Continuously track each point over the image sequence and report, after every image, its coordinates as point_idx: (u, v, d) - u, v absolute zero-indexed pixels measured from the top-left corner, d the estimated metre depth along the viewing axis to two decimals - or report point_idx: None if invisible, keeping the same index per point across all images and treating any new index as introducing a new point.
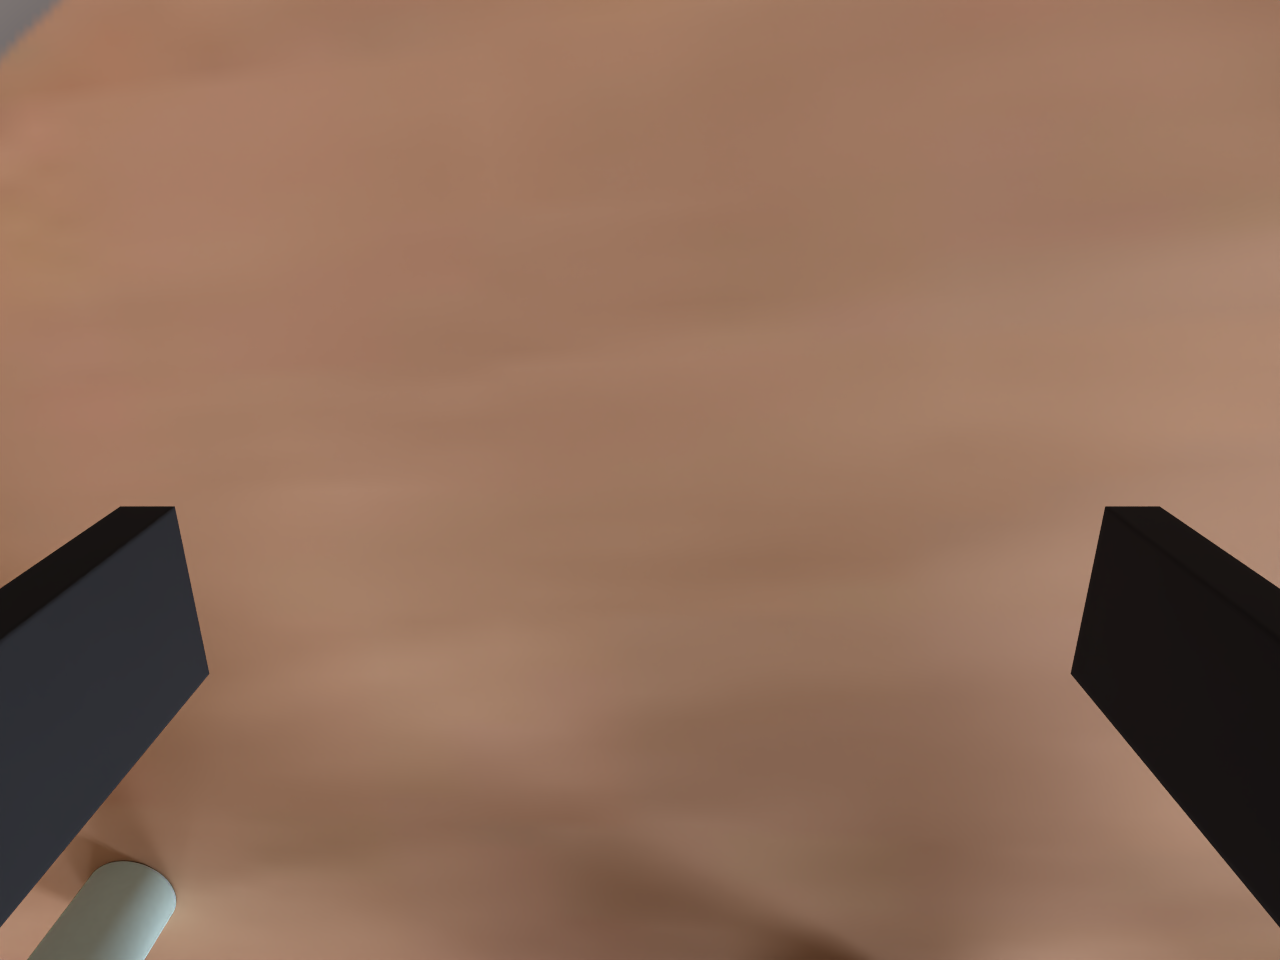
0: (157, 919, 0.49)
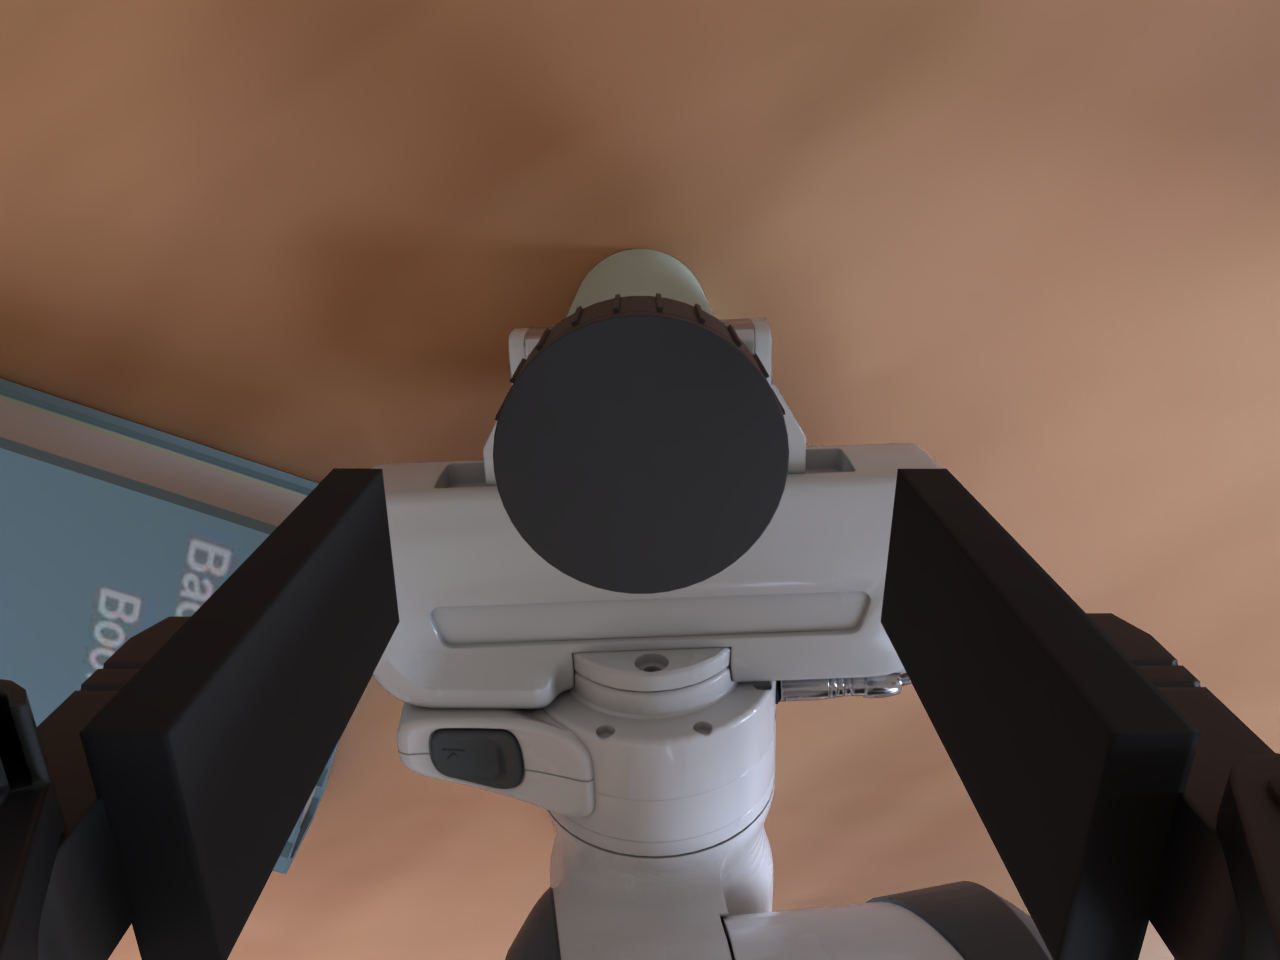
0: (698, 285, 0.31)
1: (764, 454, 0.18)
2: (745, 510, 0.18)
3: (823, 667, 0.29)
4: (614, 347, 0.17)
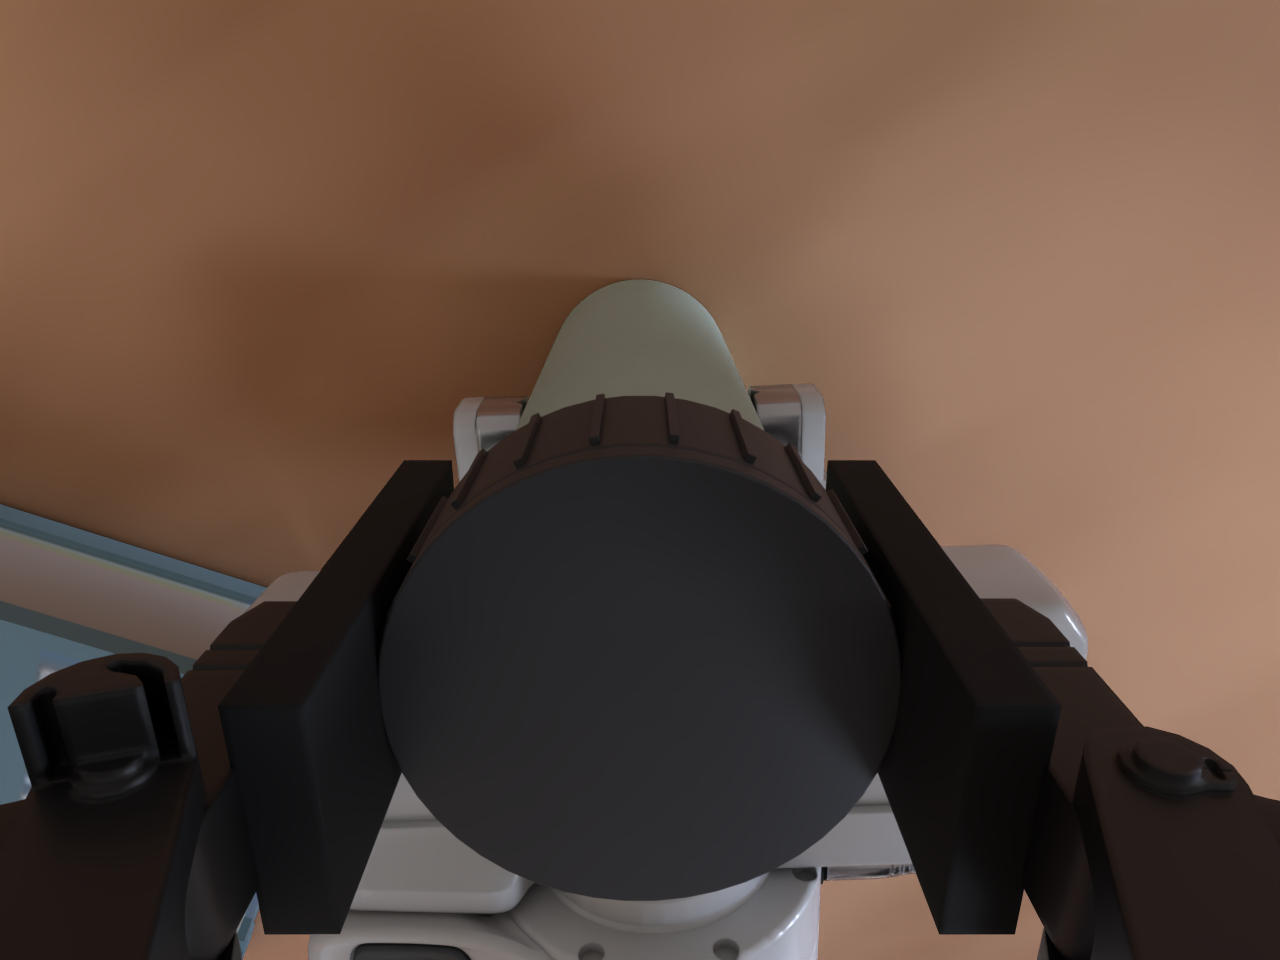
0: (717, 329, 0.23)
1: (858, 689, 0.10)
2: (821, 776, 0.10)
3: (888, 852, 0.21)
4: (590, 512, 0.09)
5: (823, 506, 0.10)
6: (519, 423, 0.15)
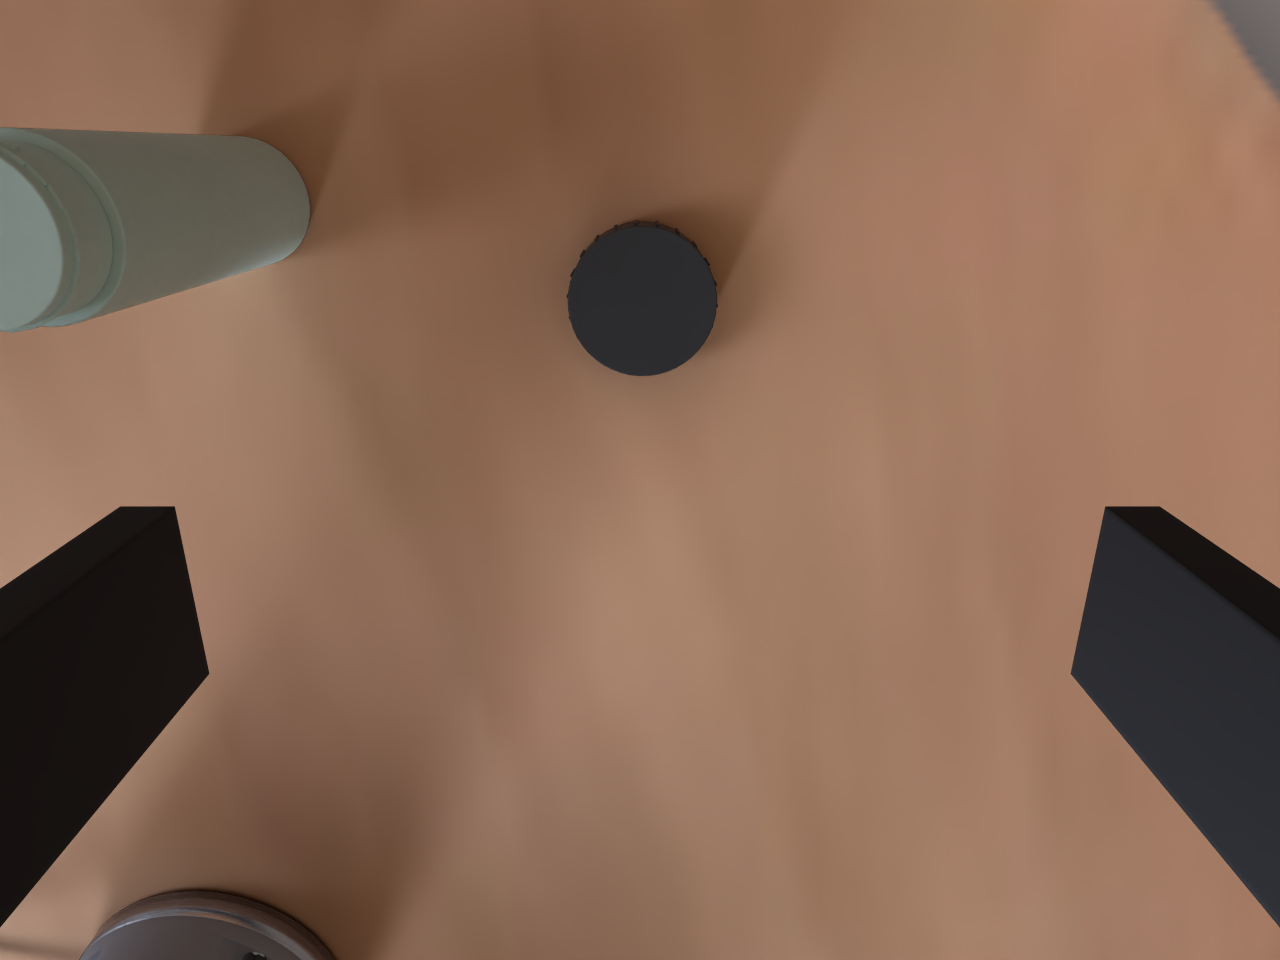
0: None
1: (701, 321, 0.35)
2: (682, 346, 0.36)
3: None
4: (651, 242, 0.34)
5: None
6: (170, 171, 0.26)
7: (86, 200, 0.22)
